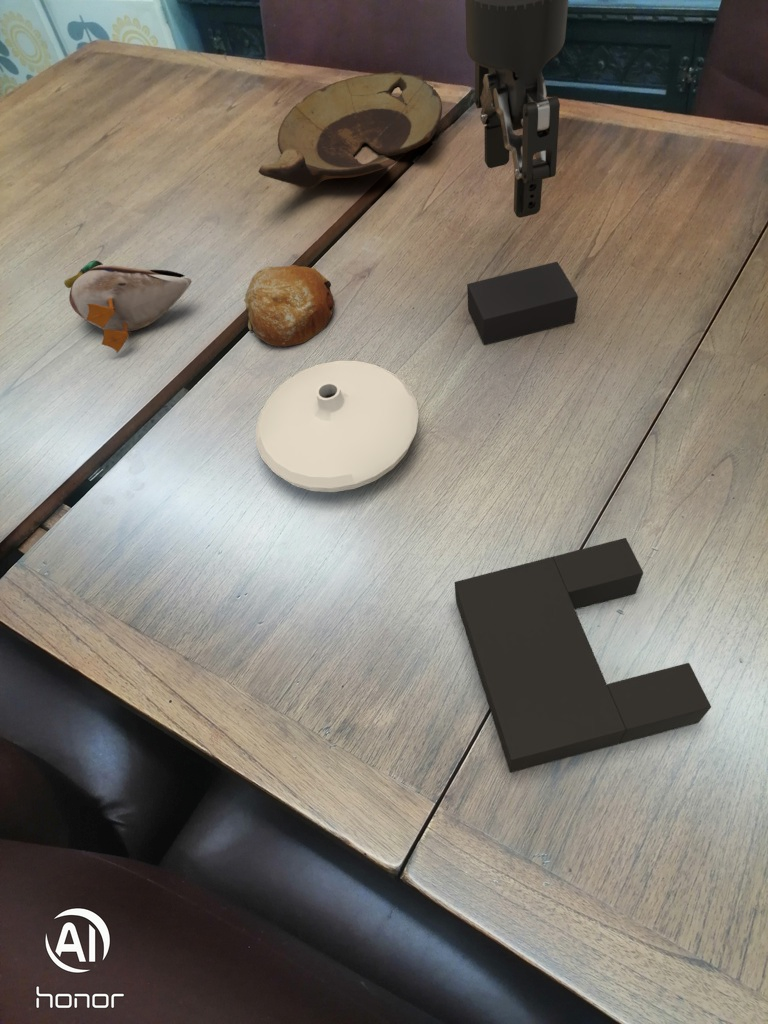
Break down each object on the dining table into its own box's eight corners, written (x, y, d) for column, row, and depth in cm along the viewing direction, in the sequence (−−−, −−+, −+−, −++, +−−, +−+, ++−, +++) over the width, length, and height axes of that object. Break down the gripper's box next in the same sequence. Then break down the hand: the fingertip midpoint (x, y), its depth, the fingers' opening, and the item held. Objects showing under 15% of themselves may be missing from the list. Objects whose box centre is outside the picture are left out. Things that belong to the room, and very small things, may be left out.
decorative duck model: (48, 247, 82) (167, 206, 83) (81, 301, 88) (193, 262, 89) (45, 314, 73) (180, 267, 73) (83, 369, 79) (208, 325, 79)
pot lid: (319, 365, 75) (305, 313, 69) (449, 410, 69) (446, 358, 63) (232, 471, 68) (208, 424, 62) (367, 531, 62) (355, 485, 56)
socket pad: (619, 559, 57) (626, 537, 54) (699, 722, 49) (712, 707, 46) (455, 601, 57) (454, 581, 54) (509, 772, 49) (511, 760, 46)
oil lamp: (481, 147, 94) (480, 88, 88) (291, 241, 88) (276, 184, 81) (391, 91, 106) (385, 35, 99) (218, 170, 99) (200, 116, 93)
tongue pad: (554, 287, 77) (557, 261, 74) (574, 322, 73) (578, 295, 70) (467, 309, 76) (466, 283, 74) (483, 345, 73) (483, 319, 70)
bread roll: (259, 329, 84) (214, 292, 78) (318, 268, 83) (278, 225, 76) (293, 376, 79) (248, 341, 73) (357, 312, 77) (317, 270, 71)
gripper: (606, 3, 46) (579, 221, 59) (533, -66, 54) (524, 140, 67) (497, 29, 46) (495, 242, 59) (441, -44, 54) (450, 158, 67)
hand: (511, 188), depth 63 cm, fingers open, 8 cm apart
